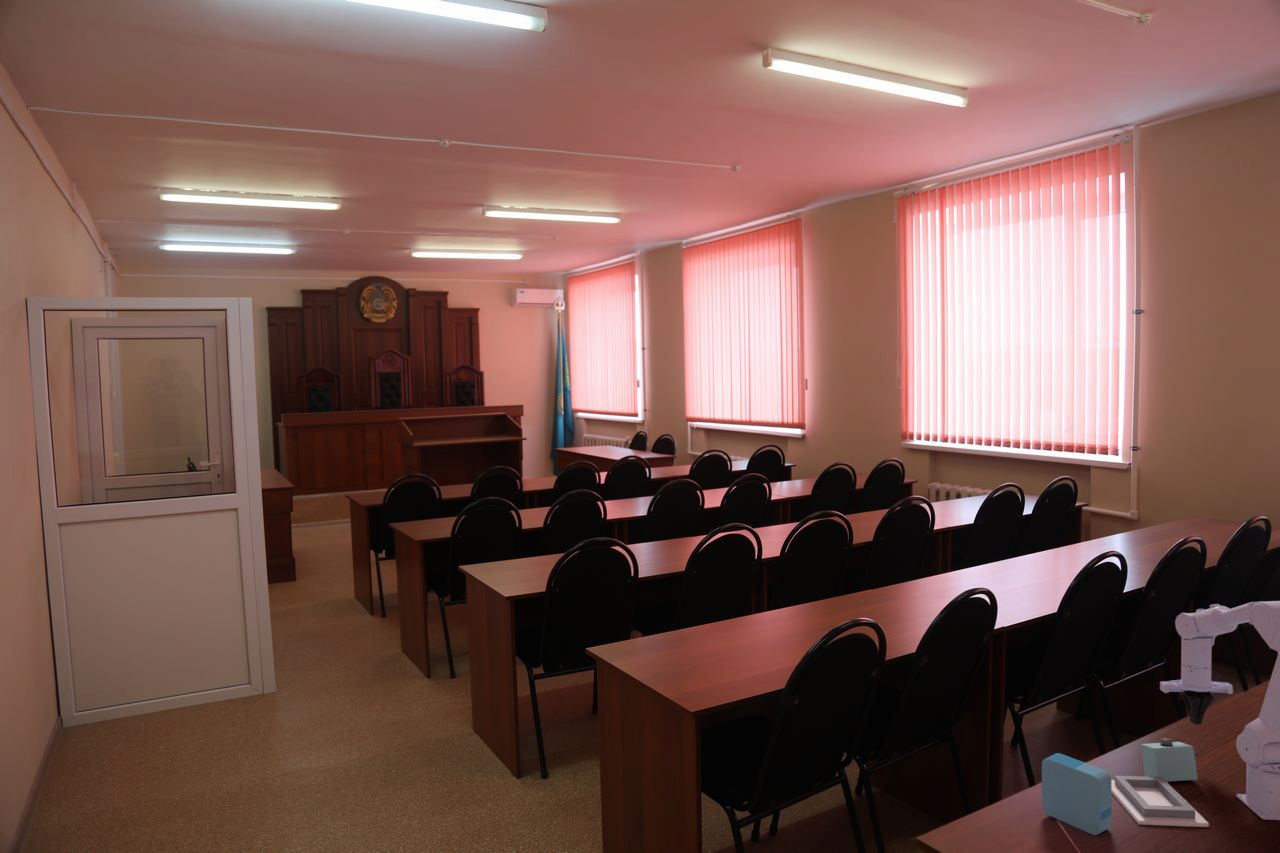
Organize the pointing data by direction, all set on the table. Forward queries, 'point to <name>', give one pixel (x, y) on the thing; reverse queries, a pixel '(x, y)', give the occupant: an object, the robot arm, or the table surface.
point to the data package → (1076, 793)
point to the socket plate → (1154, 802)
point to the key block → (1169, 760)
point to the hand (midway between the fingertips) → (1195, 722)
